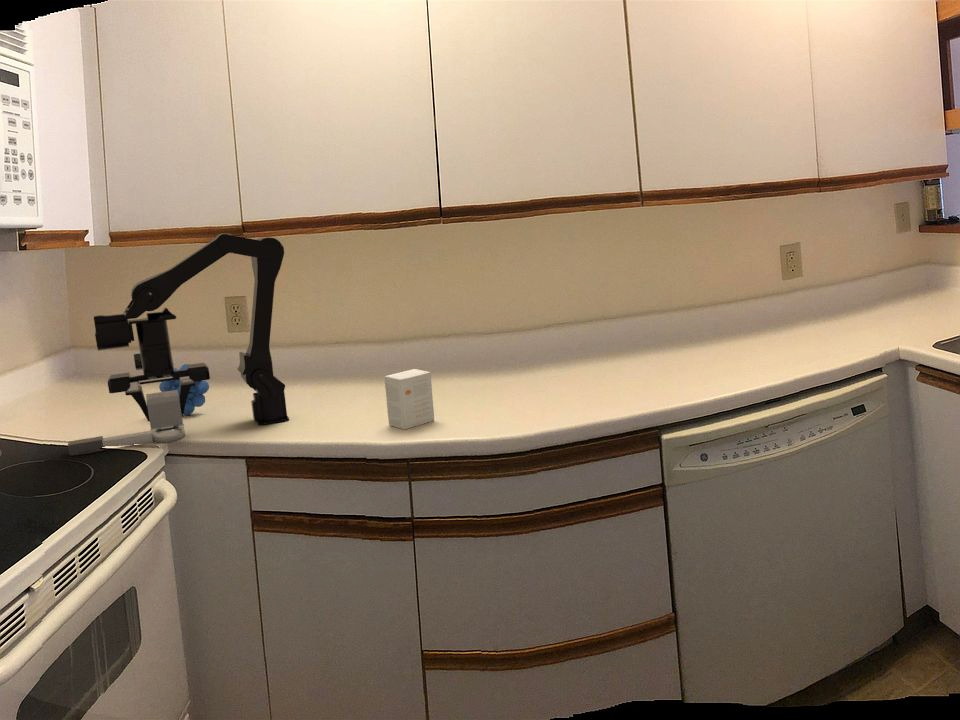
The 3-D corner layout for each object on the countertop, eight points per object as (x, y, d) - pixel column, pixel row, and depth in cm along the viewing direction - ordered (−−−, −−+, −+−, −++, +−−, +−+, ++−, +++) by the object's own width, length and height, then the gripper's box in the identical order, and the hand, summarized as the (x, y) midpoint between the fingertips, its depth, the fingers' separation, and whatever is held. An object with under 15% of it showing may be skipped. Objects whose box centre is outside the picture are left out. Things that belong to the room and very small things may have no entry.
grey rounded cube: (181, 417, 155) (177, 389, 154) (182, 424, 149) (178, 395, 148) (150, 422, 152) (146, 394, 151) (150, 429, 147) (146, 400, 146)
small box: (418, 416, 156) (414, 368, 154) (435, 421, 152) (431, 371, 150) (387, 425, 151) (383, 375, 149) (404, 430, 147) (399, 379, 145)
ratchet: (184, 432, 156) (180, 407, 155) (186, 439, 150) (182, 413, 149) (71, 450, 147) (67, 424, 146) (68, 459, 142) (63, 432, 141)
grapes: (219, 408, 174) (212, 359, 171) (208, 416, 167) (201, 365, 165) (170, 411, 174) (163, 361, 172) (158, 419, 168) (150, 367, 165)
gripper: (200, 332, 159) (210, 402, 162) (104, 344, 151) (117, 417, 154) (204, 339, 149) (215, 414, 152) (102, 352, 141) (115, 430, 144)
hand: (166, 418), depth 151 cm, fingers closed on grey rounded cube, 6 cm apart
